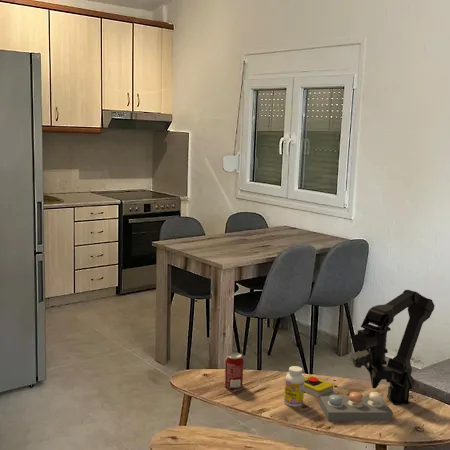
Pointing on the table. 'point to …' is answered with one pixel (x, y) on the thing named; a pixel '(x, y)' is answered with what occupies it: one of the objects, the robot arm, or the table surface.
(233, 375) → the soda can
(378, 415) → the console
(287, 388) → the supplement bottle
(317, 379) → the emergency button
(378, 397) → the cream button
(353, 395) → the terracotta button
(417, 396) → the table surface
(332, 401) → the slate button
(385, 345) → the robot arm
